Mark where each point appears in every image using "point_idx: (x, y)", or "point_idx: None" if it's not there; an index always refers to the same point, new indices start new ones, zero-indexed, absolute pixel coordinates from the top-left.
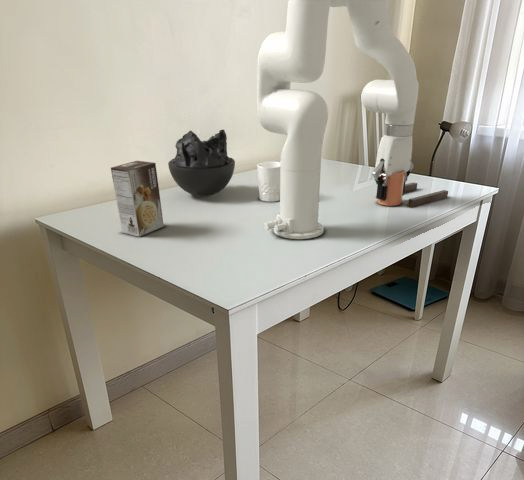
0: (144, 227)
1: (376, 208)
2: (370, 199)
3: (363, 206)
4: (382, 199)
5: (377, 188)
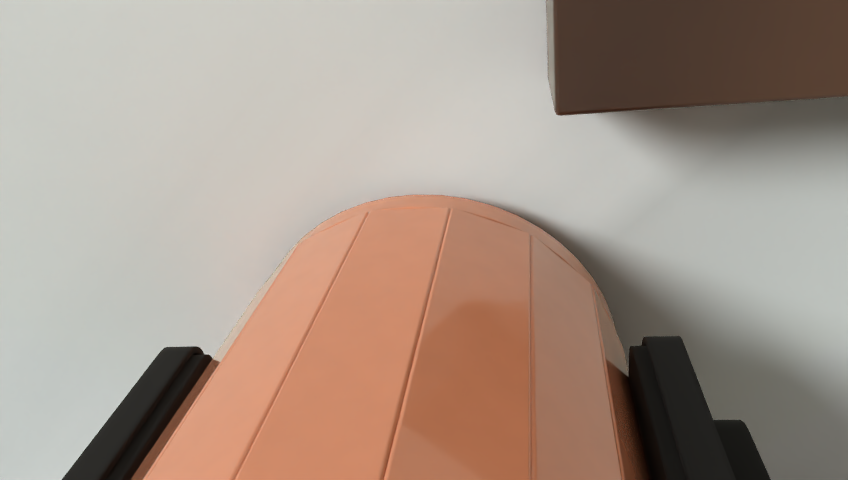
0: None
1: None
2: (318, 15)
3: (8, 251)
4: None
5: (81, 464)
